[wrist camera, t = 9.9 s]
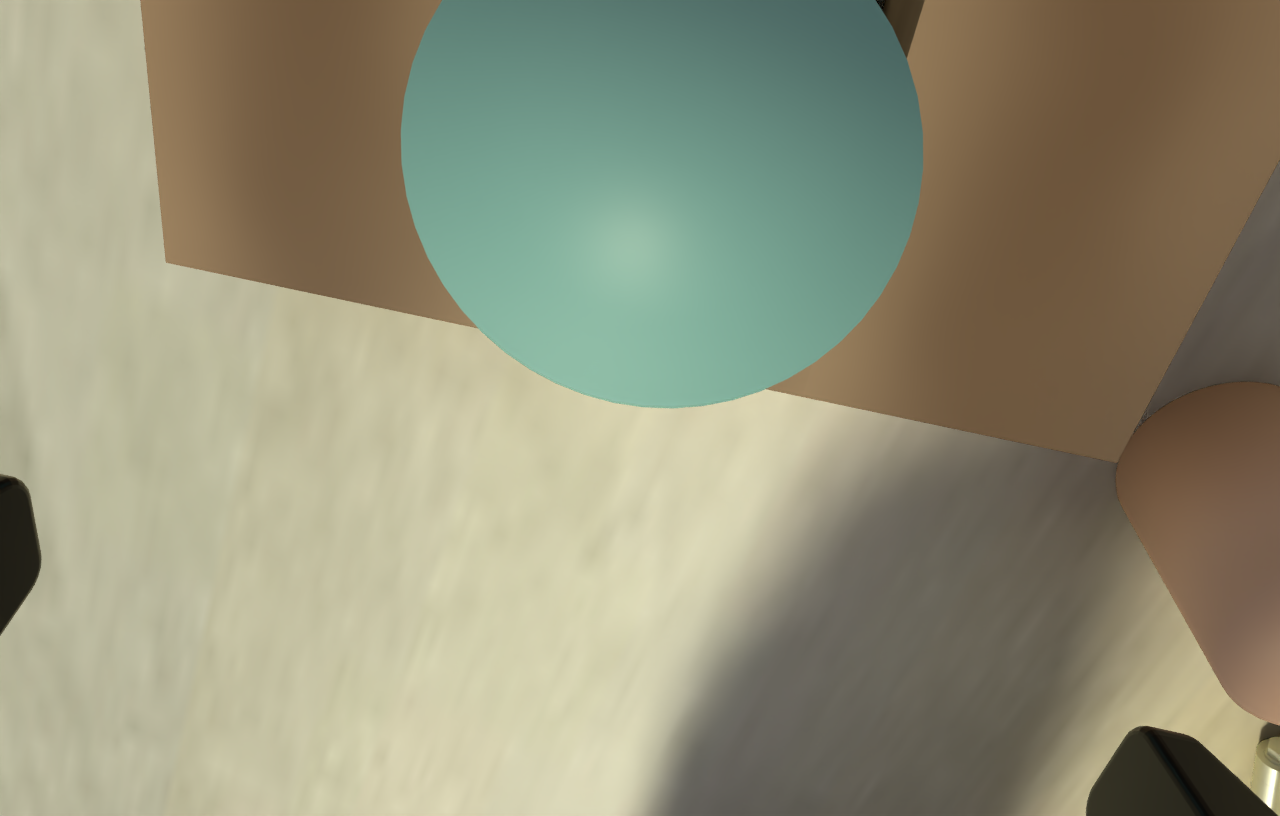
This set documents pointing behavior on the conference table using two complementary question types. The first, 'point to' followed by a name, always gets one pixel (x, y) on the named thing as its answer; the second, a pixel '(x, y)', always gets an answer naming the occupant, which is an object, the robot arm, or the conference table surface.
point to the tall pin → (662, 184)
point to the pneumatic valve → (1267, 773)
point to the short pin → (1216, 527)
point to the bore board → (942, 229)
